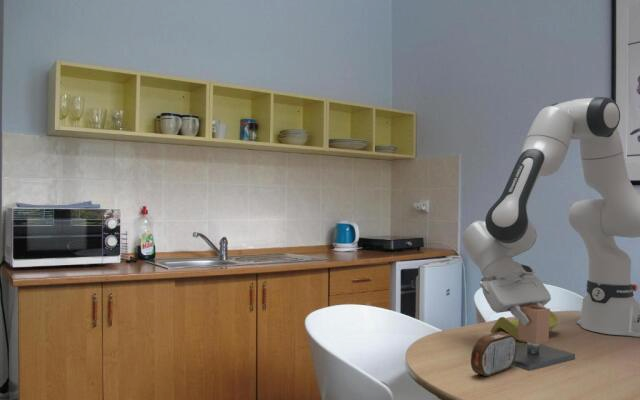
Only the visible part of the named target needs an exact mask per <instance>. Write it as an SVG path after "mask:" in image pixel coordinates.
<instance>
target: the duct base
mask: <svg viewBox="0 0 640 400" xmlns="http://www.w3.org/2000/svg"><path fill="white" fill-rule="evenodd" d="M575 359H576V354H575V353H573V352H570V351H567V350H563V349H559V348H555V347H552V346H548V345H544V344H542V343H540V344H533V343H530V342H523V343H520V344H519V343H518V344H517V345H516V354H515V360H514V362H513V364H512V365H511V366H515V367H518V368H521V369H523V370H527V371H532V370H537V369H540V368H544V367H548V366H552V365H555V364H556V365H557V364H560V363H562V362H568V361H572V360H575Z"/></svg>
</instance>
